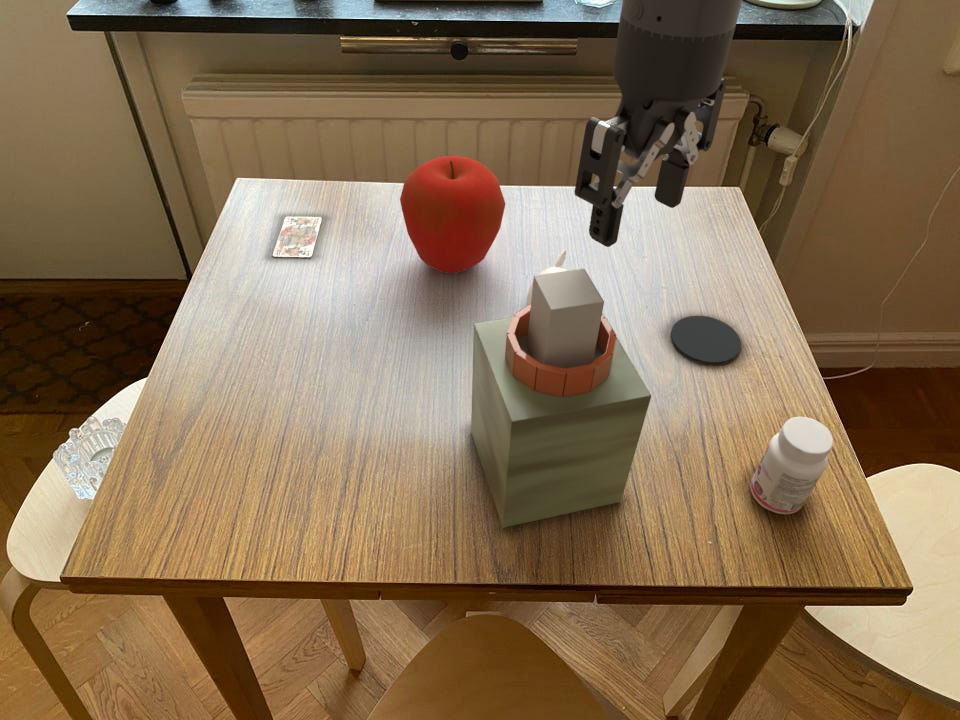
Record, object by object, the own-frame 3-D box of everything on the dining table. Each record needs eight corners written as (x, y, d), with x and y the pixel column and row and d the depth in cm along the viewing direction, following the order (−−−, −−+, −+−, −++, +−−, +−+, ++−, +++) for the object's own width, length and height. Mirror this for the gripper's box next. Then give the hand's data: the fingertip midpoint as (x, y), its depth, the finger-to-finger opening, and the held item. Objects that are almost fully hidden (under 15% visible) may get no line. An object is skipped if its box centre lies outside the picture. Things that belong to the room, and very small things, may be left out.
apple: (489, 303, 82) (493, 197, 72) (390, 286, 84) (382, 180, 74) (510, 243, 91) (517, 141, 81) (420, 228, 92) (416, 127, 83)
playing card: (311, 257, 87) (311, 257, 87) (271, 256, 87) (271, 256, 87) (322, 217, 94) (322, 216, 94) (285, 216, 94) (285, 216, 94)
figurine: (582, 340, 78) (590, 294, 73) (524, 336, 78) (528, 289, 74) (581, 294, 84) (588, 249, 79) (527, 290, 84) (531, 244, 79)
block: (591, 371, 55) (604, 301, 50) (542, 379, 54) (551, 310, 49) (573, 337, 57) (584, 268, 53) (526, 344, 57) (533, 275, 52)
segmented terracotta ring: (627, 385, 54) (633, 362, 52) (524, 404, 52) (526, 381, 50) (588, 316, 59) (592, 293, 58) (494, 331, 58) (495, 308, 56)
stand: (621, 502, 63) (651, 395, 53) (502, 528, 61) (511, 422, 51) (577, 411, 70) (597, 303, 61) (470, 431, 68) (473, 323, 58)
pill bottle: (747, 468, 66) (776, 408, 60) (800, 477, 65) (834, 417, 59) (750, 510, 63) (781, 451, 57) (806, 520, 62) (843, 462, 56)
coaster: (753, 358, 77) (754, 355, 76) (689, 370, 75) (690, 367, 75) (719, 313, 82) (720, 311, 81) (659, 323, 80) (659, 321, 80)
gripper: (661, 55, 41) (617, 278, 52) (785, 3, 48) (723, 208, 59) (564, 20, 45) (542, 235, 56) (693, -24, 52) (651, 174, 63)
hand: (635, 221), depth 58 cm, fingers open, 8 cm apart
